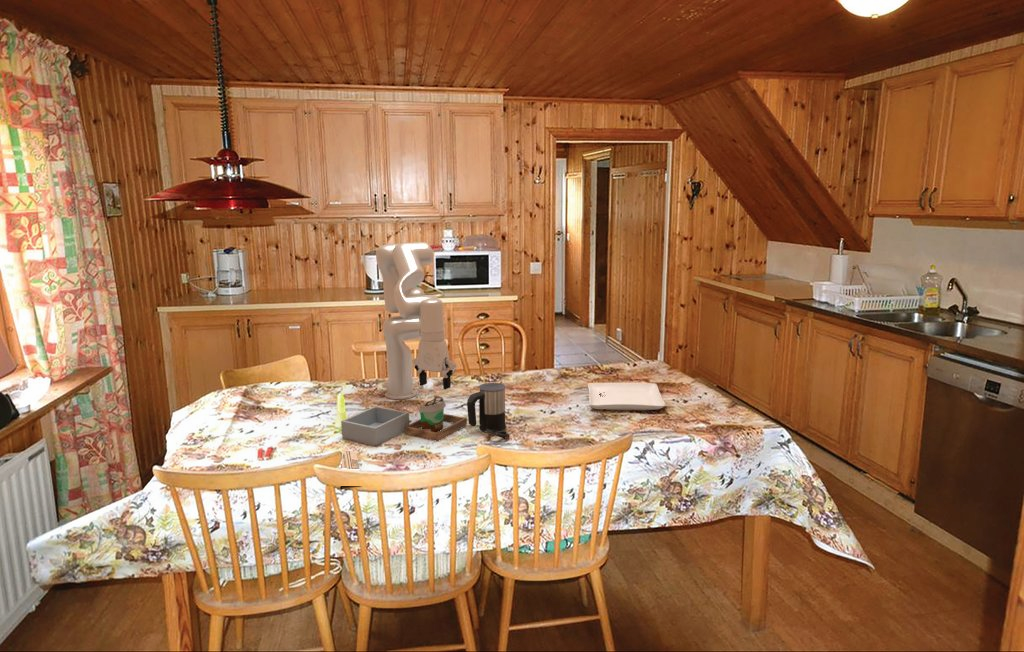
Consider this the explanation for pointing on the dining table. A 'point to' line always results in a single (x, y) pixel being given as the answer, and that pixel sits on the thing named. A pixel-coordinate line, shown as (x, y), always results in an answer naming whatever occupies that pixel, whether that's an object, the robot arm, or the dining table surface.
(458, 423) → the walnut frame
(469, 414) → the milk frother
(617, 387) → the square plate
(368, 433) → the grey bin
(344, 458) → the newspaper
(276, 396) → the dining table surface
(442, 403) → the food container
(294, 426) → the dining table surface
